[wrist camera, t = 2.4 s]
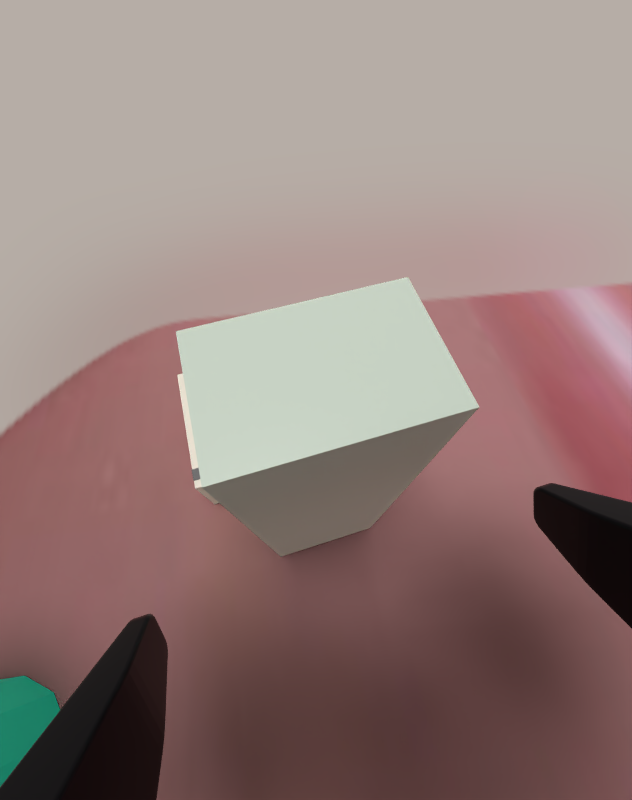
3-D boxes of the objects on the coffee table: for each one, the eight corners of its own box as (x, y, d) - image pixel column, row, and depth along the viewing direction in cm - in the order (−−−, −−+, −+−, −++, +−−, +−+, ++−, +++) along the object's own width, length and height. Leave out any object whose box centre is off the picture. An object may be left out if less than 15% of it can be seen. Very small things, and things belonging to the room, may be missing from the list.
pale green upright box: (370, 527, 19) (479, 407, 6) (280, 556, 18) (201, 487, 6) (350, 470, 20) (407, 275, 8) (266, 495, 19) (175, 329, 7)
